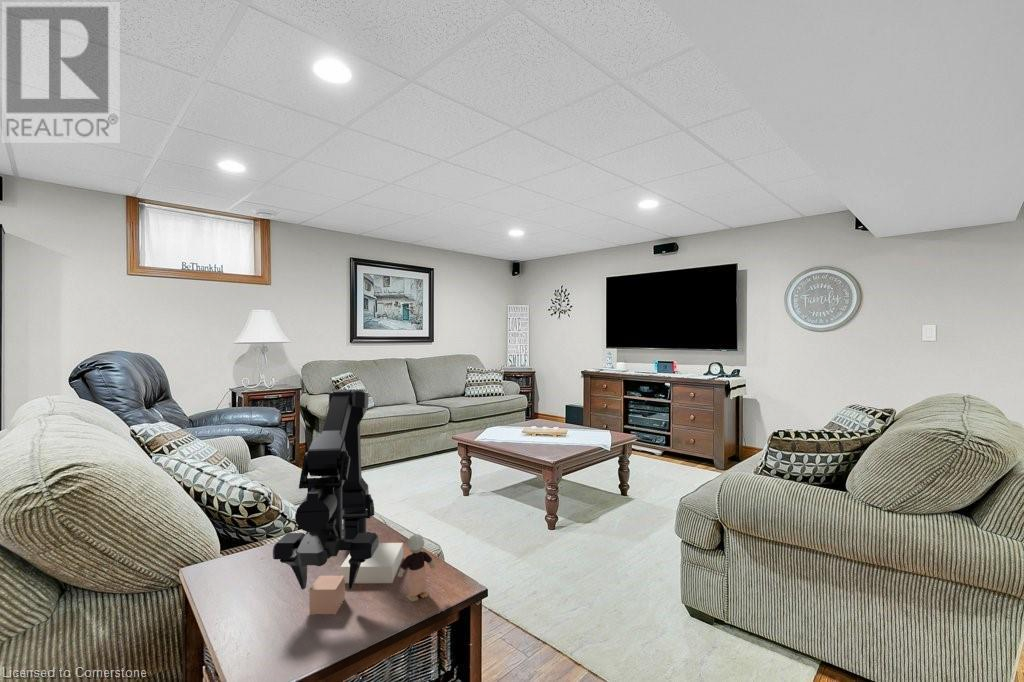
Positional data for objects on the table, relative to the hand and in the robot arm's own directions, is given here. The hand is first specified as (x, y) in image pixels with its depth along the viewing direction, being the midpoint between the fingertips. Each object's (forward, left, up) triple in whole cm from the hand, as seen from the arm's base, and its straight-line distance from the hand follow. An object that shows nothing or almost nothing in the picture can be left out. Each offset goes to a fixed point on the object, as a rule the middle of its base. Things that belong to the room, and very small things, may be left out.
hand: (327, 588), depth 92 cm
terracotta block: (0, 0, -4) cm, 4 cm away
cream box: (-14, +5, -4) cm, 15 cm away
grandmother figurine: (-3, +17, -4) cm, 17 cm away
